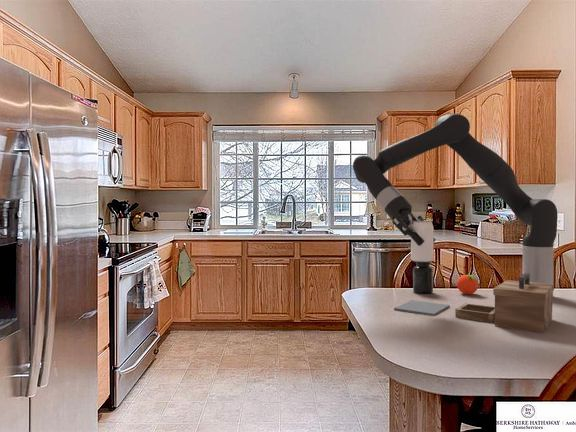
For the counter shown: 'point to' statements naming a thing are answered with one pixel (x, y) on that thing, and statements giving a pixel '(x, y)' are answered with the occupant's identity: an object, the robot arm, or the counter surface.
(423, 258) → the can
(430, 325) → the counter surface
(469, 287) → the clementine
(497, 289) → the toolbox
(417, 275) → the supplement bottle
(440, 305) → the mat
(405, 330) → the counter surface
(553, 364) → the counter surface
